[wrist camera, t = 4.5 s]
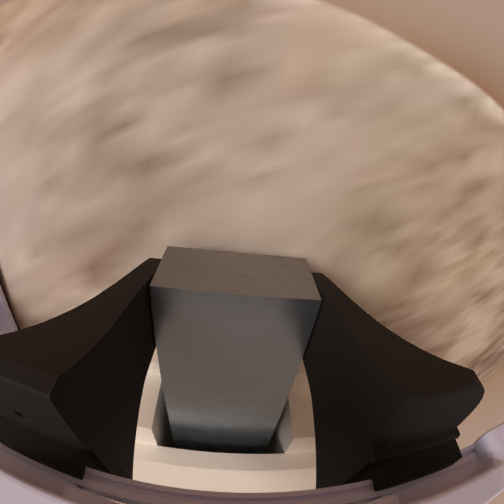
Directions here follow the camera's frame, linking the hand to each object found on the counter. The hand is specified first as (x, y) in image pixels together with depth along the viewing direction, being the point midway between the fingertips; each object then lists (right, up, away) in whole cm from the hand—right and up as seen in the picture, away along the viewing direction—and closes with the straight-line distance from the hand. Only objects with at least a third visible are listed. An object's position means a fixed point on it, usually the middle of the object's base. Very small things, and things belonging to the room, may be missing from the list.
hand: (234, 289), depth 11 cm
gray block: (-1, -4, +2) cm, 5 cm away
